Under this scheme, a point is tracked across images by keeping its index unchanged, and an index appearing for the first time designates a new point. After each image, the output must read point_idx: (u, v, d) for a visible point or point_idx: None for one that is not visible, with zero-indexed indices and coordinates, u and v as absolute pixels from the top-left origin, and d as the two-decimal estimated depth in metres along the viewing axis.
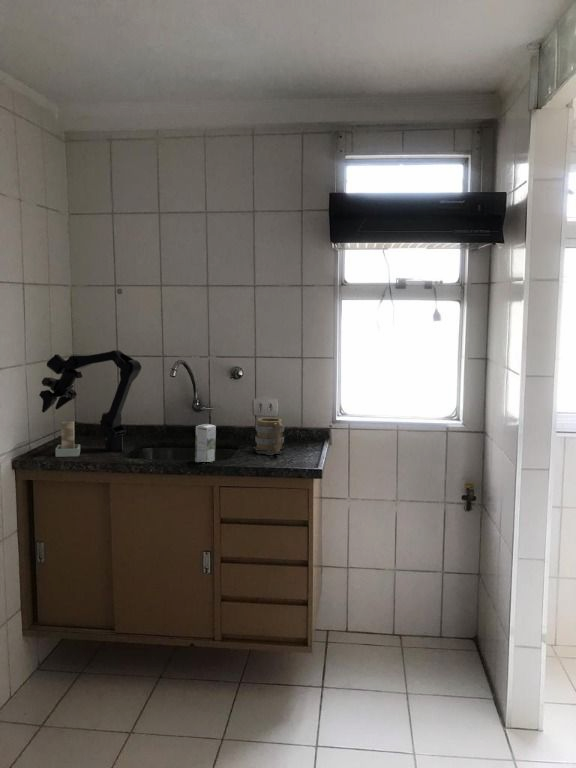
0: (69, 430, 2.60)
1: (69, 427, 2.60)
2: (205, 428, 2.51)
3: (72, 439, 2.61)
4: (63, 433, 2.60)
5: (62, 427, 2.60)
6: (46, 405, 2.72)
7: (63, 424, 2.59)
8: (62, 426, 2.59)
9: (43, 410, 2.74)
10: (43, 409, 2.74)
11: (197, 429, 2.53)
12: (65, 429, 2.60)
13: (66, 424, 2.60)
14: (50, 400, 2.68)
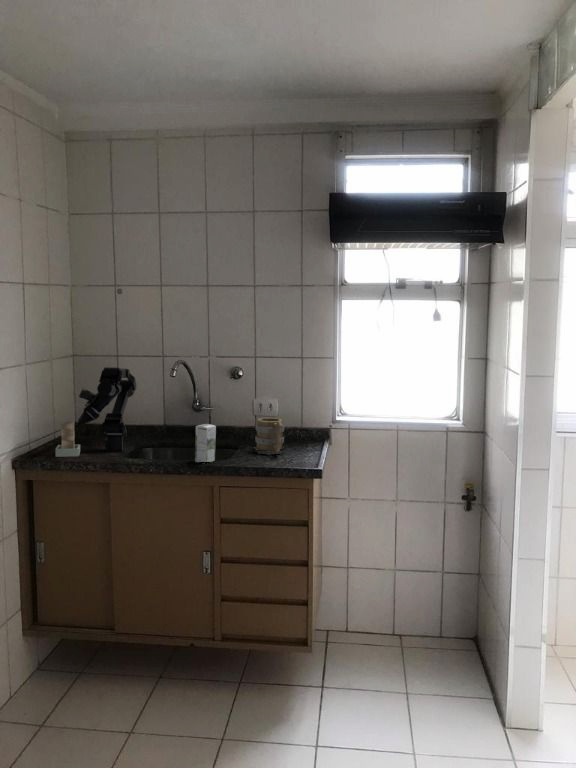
0: (69, 430, 2.60)
1: (69, 427, 2.60)
2: (205, 428, 2.51)
3: (72, 439, 2.61)
4: (63, 433, 2.60)
5: (62, 427, 2.60)
6: (85, 419, 2.58)
7: (63, 424, 2.59)
8: (62, 426, 2.59)
9: (79, 424, 2.58)
10: (79, 422, 2.58)
11: (197, 429, 2.53)
12: (65, 429, 2.60)
13: (66, 424, 2.60)
14: (97, 416, 2.55)
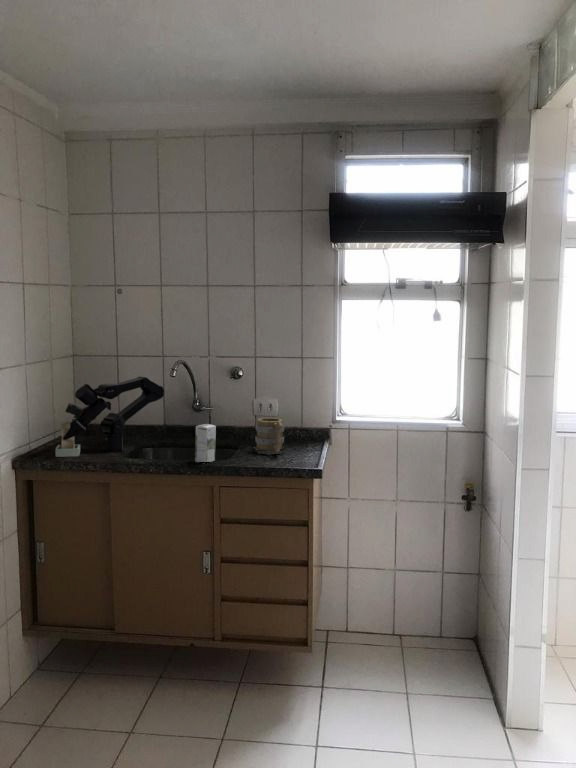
0: None
1: (69, 427, 2.60)
2: (205, 428, 2.51)
3: (72, 439, 2.61)
4: (63, 433, 2.60)
5: (62, 427, 2.60)
6: (72, 433, 2.59)
7: (63, 424, 2.59)
8: (62, 426, 2.59)
9: (65, 437, 2.60)
10: (65, 436, 2.59)
11: (197, 429, 2.53)
12: (65, 429, 2.60)
13: (66, 424, 2.60)
14: (83, 431, 2.55)
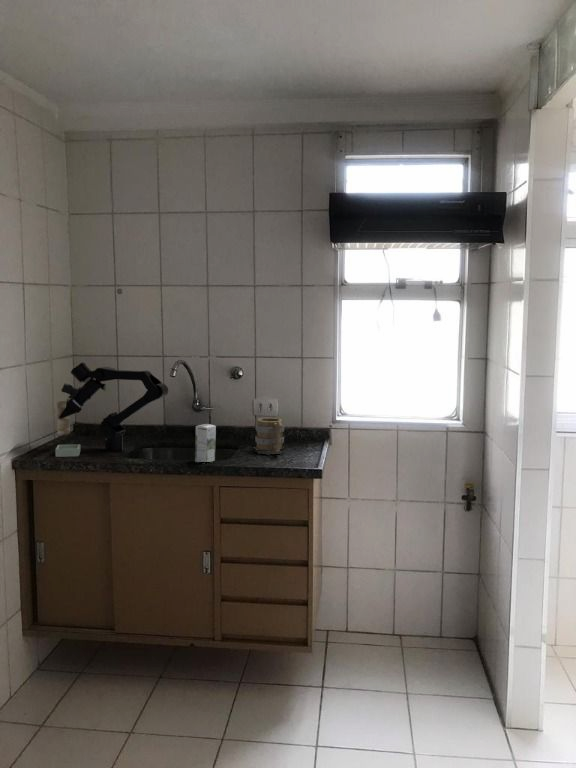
0: None
1: (64, 407, 2.67)
2: (205, 428, 2.51)
3: (68, 418, 2.68)
4: (59, 412, 2.67)
5: (58, 406, 2.66)
6: (67, 412, 2.66)
7: (59, 403, 2.66)
8: (58, 405, 2.66)
9: (61, 416, 2.66)
10: (61, 415, 2.66)
11: (197, 429, 2.53)
12: (61, 408, 2.67)
13: (62, 403, 2.67)
14: (79, 410, 2.62)
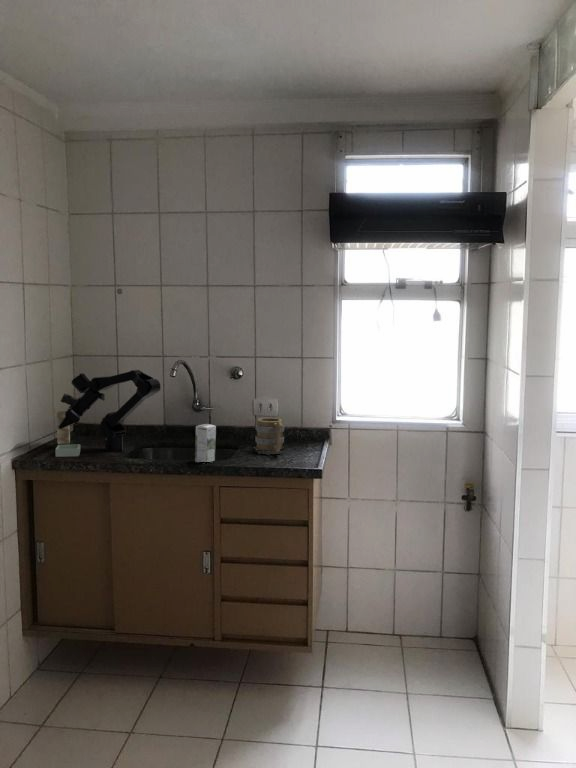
0: None
1: (64, 417, 2.71)
2: (205, 428, 2.51)
3: (67, 428, 2.72)
4: (58, 422, 2.71)
5: (57, 416, 2.70)
6: (67, 422, 2.70)
7: (58, 414, 2.70)
8: (57, 415, 2.70)
9: (61, 426, 2.70)
10: (61, 425, 2.70)
11: (197, 429, 2.53)
12: (60, 418, 2.71)
13: (61, 413, 2.70)
14: (78, 420, 2.66)
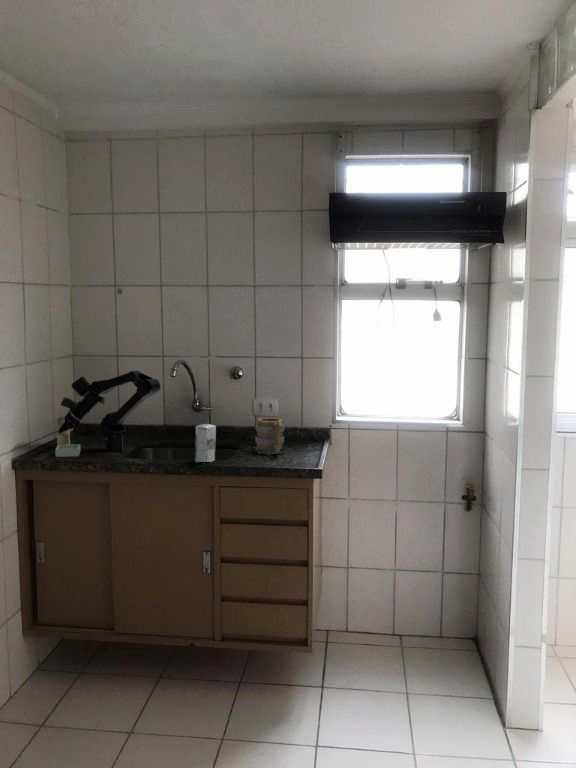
0: None
1: None
2: (205, 428, 2.51)
3: (67, 434, 2.72)
4: (59, 428, 2.71)
5: (58, 422, 2.70)
6: (66, 426, 2.68)
7: (59, 419, 2.70)
8: (57, 421, 2.70)
9: (60, 431, 2.69)
10: (60, 429, 2.68)
11: (197, 429, 2.53)
12: (60, 424, 2.71)
13: (61, 419, 2.71)
14: (77, 423, 2.66)
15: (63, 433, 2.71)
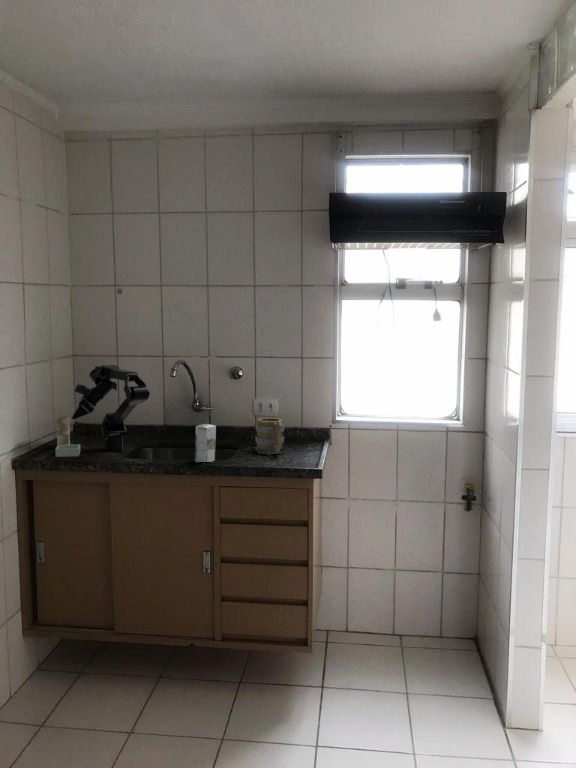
0: (64, 425, 2.71)
1: (64, 422, 2.71)
2: (205, 428, 2.51)
3: (67, 434, 2.72)
4: (59, 428, 2.71)
5: (58, 422, 2.70)
6: (80, 413, 2.68)
7: (59, 419, 2.70)
8: (57, 421, 2.70)
9: (74, 417, 2.69)
10: (74, 416, 2.69)
11: (197, 429, 2.53)
12: (60, 424, 2.71)
13: (61, 419, 2.71)
14: (92, 410, 2.66)
15: (63, 433, 2.71)
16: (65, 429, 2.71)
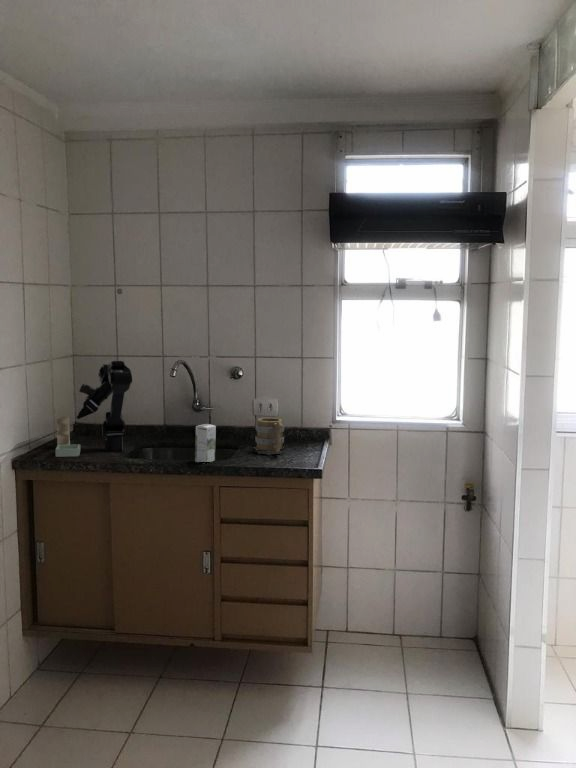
0: (64, 425, 2.71)
1: (64, 422, 2.71)
2: (205, 428, 2.51)
3: (67, 434, 2.72)
4: (59, 428, 2.71)
5: (58, 422, 2.70)
6: (85, 412, 2.74)
7: (59, 419, 2.70)
8: (57, 421, 2.70)
9: (79, 417, 2.74)
10: (79, 415, 2.74)
11: (197, 429, 2.53)
12: (60, 424, 2.71)
13: (61, 419, 2.71)
14: (96, 409, 2.72)
15: (63, 433, 2.71)
16: (65, 429, 2.71)
